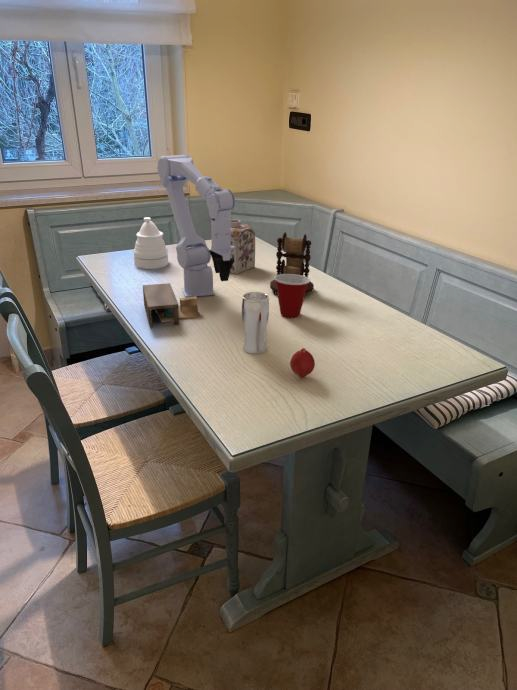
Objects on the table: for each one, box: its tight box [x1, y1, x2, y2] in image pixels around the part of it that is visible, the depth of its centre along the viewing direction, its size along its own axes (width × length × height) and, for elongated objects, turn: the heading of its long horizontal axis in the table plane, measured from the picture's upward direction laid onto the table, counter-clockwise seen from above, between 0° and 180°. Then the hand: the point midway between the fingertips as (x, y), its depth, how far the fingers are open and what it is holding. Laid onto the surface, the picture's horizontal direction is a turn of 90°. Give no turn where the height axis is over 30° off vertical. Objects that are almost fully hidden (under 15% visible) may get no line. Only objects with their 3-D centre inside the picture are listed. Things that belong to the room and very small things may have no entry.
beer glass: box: [241, 291, 270, 355], centre depth 136 cm, size 7×7×15 cm
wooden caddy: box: [142, 282, 180, 329], centre depth 157 cm, size 8×18×6 cm, turn 16°
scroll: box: [269, 231, 315, 296], centre depth 175 cm, size 15×15×20 cm
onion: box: [289, 347, 316, 379], centre depth 125 cm, size 6×6×8 cm
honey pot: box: [133, 216, 169, 270], centre depth 199 cm, size 13×13×18 cm
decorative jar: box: [230, 219, 256, 275], centre depth 197 cm, size 12×12×18 cm
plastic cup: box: [273, 274, 311, 319], centre depth 158 cm, size 11×11×12 cm
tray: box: [154, 296, 202, 323], centre depth 159 cm, size 12×9×5 cm
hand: (221, 276), depth 161 cm, fingers open, 7 cm apart
